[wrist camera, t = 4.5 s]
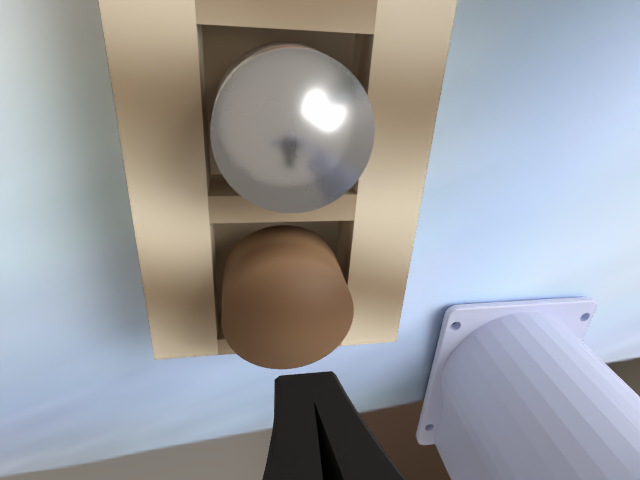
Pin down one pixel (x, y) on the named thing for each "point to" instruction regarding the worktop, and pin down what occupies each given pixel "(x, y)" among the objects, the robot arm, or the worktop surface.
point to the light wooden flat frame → (214, 191)
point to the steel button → (291, 127)
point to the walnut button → (284, 298)
